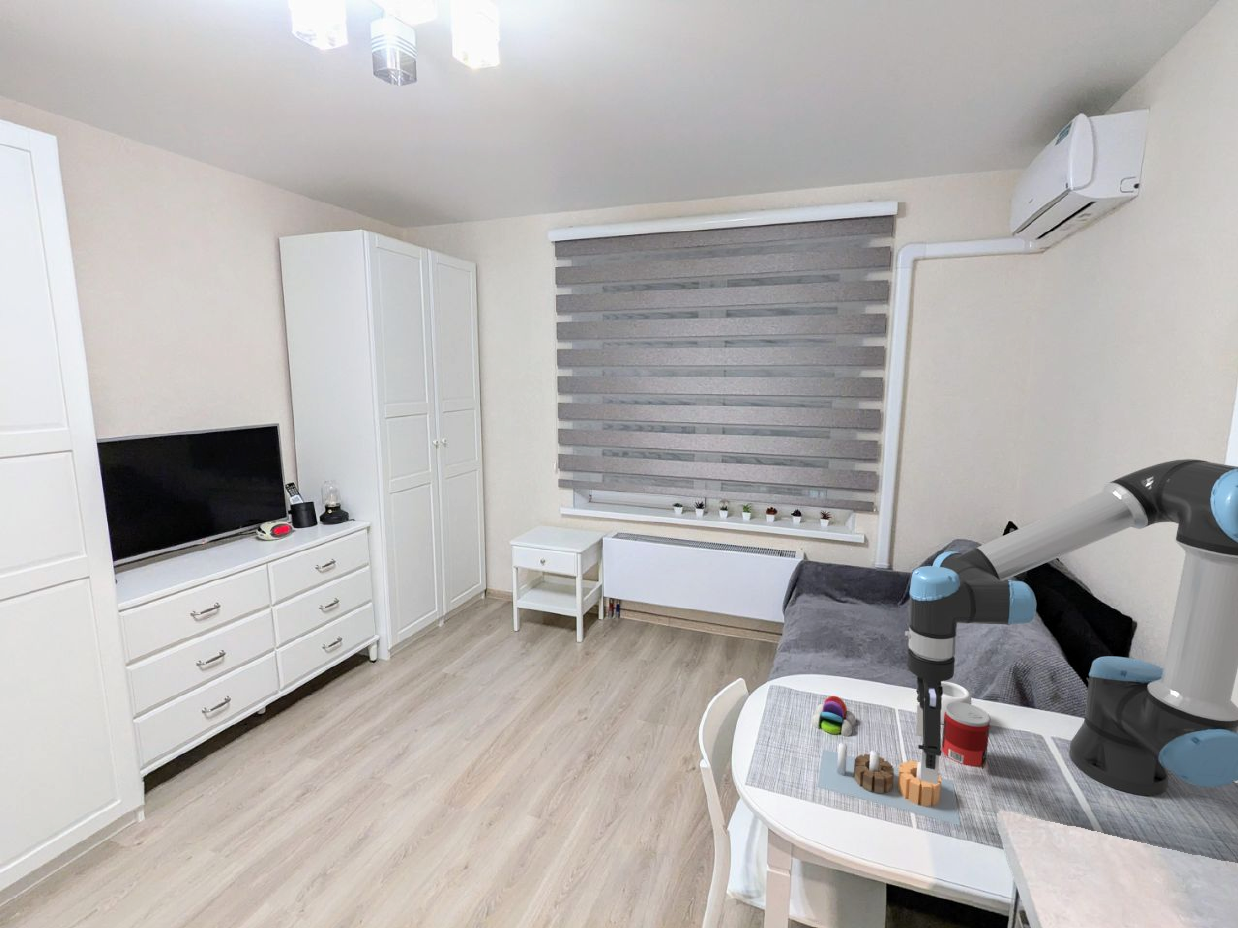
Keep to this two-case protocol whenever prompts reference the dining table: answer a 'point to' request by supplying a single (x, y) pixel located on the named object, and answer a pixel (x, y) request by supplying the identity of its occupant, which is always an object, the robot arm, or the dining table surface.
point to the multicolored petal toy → (834, 717)
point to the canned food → (965, 734)
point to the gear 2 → (917, 786)
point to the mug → (953, 696)
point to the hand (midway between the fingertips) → (926, 757)
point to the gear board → (841, 780)
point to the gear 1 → (873, 774)
